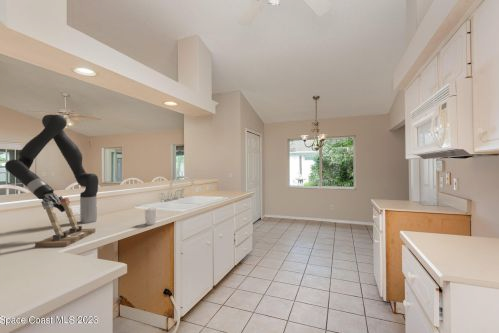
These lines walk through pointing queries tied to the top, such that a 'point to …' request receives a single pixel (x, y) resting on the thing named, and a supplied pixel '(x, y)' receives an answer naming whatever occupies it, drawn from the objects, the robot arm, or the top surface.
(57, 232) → the slate lever
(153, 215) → the white cup
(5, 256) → the top surface
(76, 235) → the switch board
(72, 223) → the terracotta lever
